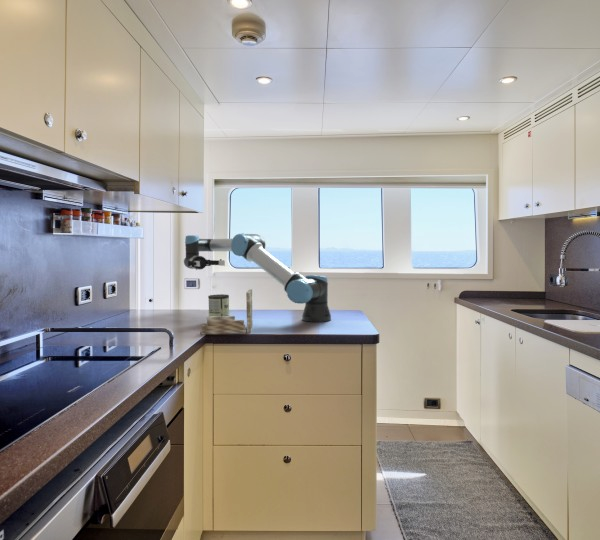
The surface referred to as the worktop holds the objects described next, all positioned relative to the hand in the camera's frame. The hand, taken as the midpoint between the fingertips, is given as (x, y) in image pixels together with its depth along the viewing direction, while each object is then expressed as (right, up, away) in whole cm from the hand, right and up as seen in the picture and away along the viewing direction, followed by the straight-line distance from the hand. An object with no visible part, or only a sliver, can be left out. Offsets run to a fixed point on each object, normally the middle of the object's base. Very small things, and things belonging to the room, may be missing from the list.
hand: (211, 263), depth 215 cm
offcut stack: (+12, -30, -32) cm, 45 cm away
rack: (+12, -31, -25) cm, 42 cm away
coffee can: (+5, -31, -6) cm, 32 cm away
